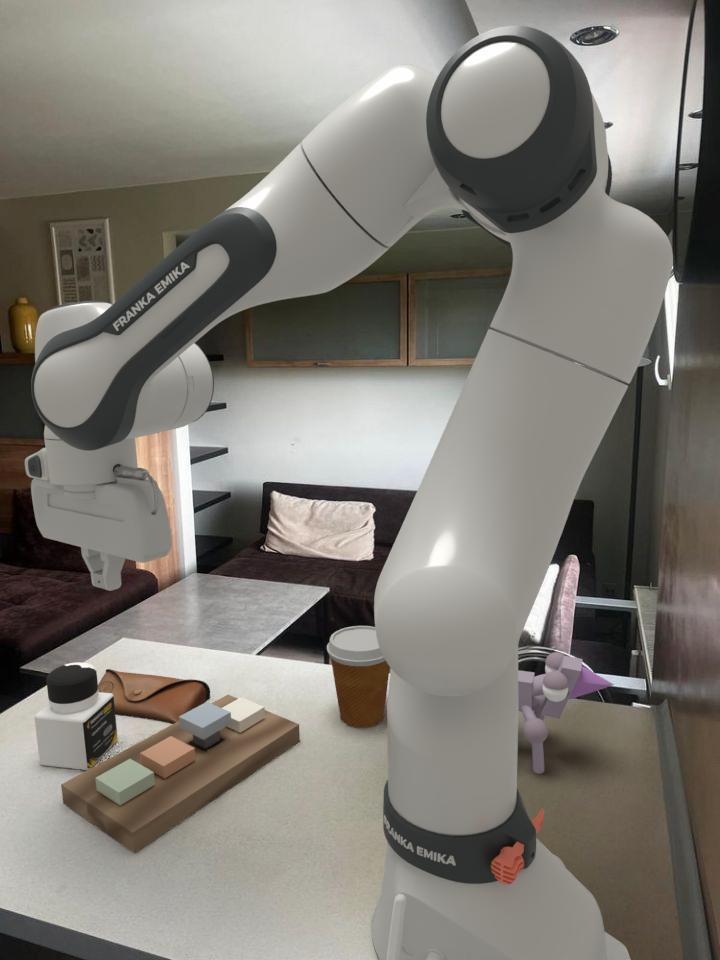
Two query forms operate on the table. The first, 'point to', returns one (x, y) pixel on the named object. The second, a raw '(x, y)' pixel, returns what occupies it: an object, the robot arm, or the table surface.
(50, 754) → the medicine bottle
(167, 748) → the key terracotta
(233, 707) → the key ivory
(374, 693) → the disposable coffee cup
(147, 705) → the sunglasses case
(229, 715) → the key slate
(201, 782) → the wooden board
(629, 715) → the table surface
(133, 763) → the key sage
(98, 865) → the table surface
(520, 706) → the purple toy figure
